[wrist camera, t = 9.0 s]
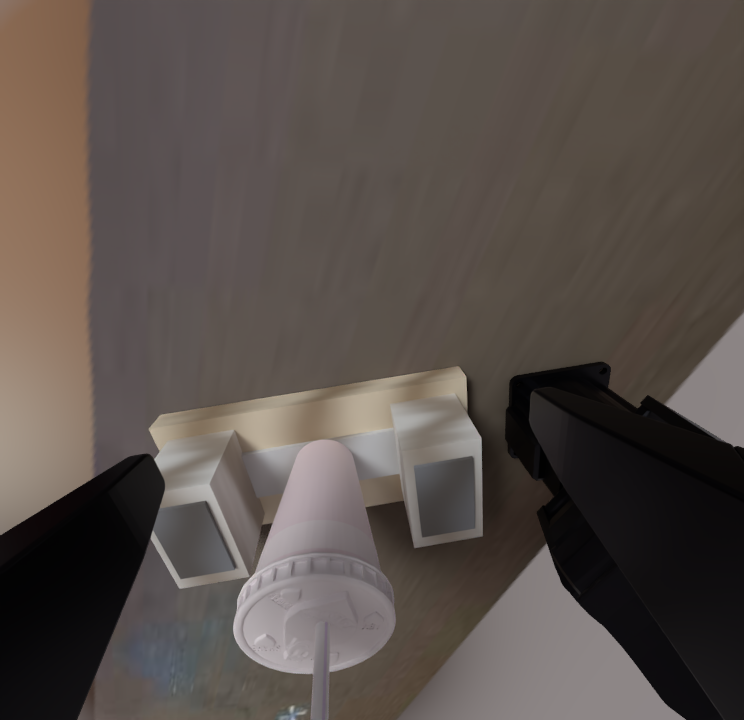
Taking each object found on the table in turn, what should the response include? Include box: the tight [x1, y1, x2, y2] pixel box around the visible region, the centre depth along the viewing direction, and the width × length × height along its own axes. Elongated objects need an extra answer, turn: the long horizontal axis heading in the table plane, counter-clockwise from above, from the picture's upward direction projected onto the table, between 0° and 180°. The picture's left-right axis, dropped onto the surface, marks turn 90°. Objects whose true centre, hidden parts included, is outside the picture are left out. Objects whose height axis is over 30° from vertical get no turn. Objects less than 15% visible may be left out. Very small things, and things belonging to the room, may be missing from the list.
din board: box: [149, 366, 483, 589], centre depth 21 cm, size 19×9×6 cm, turn 98°
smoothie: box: [233, 440, 396, 720], centre depth 16 cm, size 6×6×14 cm
